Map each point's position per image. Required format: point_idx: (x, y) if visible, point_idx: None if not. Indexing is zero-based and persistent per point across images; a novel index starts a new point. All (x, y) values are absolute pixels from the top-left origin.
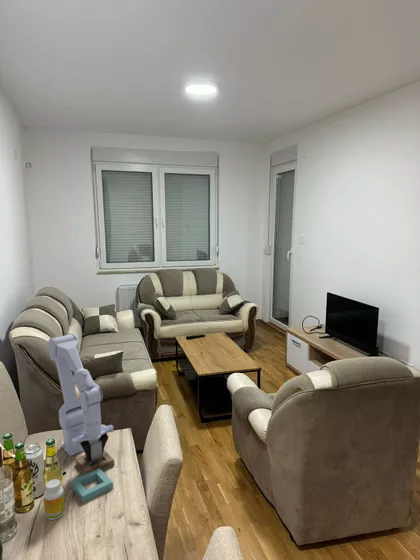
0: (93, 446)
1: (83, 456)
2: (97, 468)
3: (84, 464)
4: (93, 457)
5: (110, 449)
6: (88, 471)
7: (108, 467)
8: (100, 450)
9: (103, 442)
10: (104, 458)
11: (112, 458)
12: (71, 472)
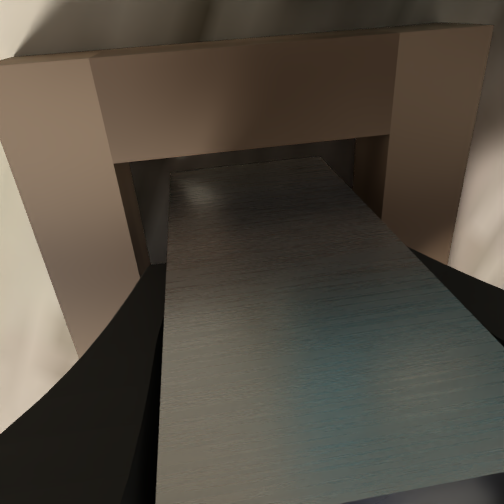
0: (455, 397)
1: None
2: (309, 36)
3: (419, 229)
4: (344, 227)
5: (11, 399)
6: (467, 25)
7: (118, 49)
8: (204, 292)
9: (84, 459)
10: (131, 225)
11: (2, 130)
12: (499, 234)
